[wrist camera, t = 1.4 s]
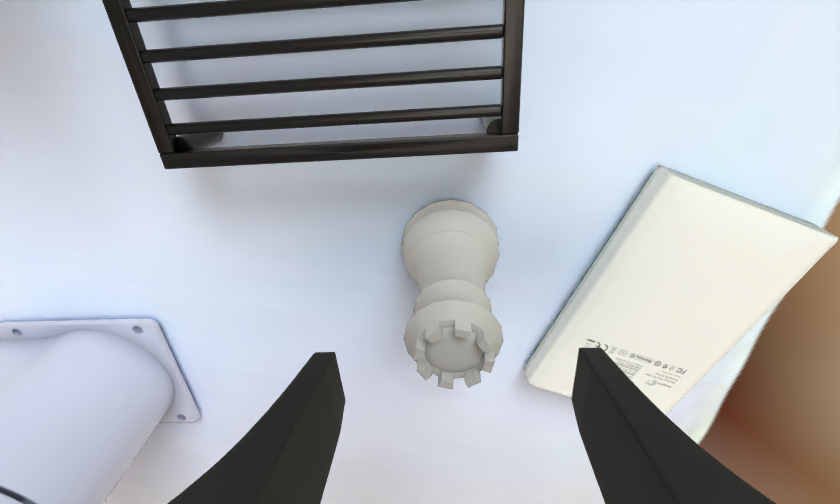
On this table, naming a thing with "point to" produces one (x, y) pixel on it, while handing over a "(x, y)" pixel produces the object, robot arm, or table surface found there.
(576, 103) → the table surface
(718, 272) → the hard drive
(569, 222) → the table surface
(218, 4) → the rack
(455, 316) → the rook chess piece
